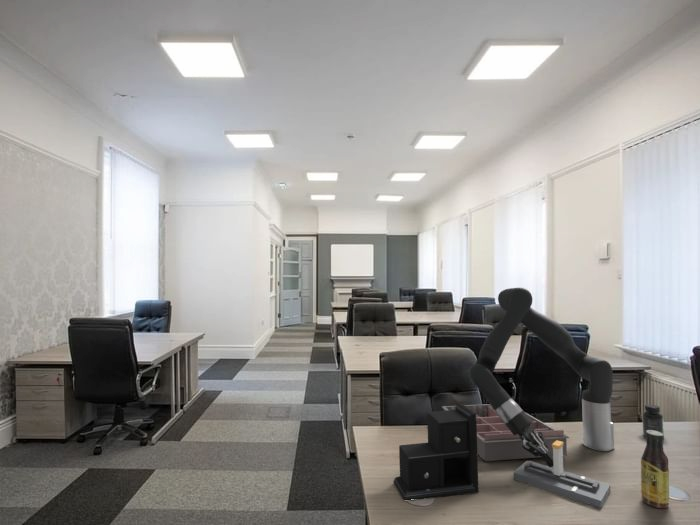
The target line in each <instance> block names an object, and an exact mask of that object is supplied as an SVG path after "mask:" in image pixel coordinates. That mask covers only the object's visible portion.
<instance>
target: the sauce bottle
mask: <svg viewBox="0 0 700 525" xmlns="http://www.w3.org/2000/svg"><path fill="white" fill-rule="evenodd" d="M645 438H646V440H645V441H646V446H645V449H644V451H643V453H642V456H641V460H640V474H641V475H640V479H641V480H640V491H641V492H640V493H641V499H642V501H643V502H644V503H645V504H647V505H649V506H651V507H653V508H656V509H657V508H658V509H666V508H668V507H669V504H670V503H669V502H670V470H669V469H670V468H669V459H668V456H667V455H666V454H665V451H664V439H665V434H664V435H663V434H662V433H661V432H658V431H654V430H647V431H646V436H645Z"/></svg>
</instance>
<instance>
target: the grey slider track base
mask: <svg viewBox="0 0 700 525" xmlns="http://www.w3.org/2000/svg"><path fill="white" fill-rule="evenodd" d="M553 470H554V467H549V466H548V465H545V464H542V463H540V462H534V461H531V460H526V461H524V462H523V463H522V464H521V465H520V466H518V467H517V469H515V470H514V471H513V480H516V481H518V482H521V483H523V484H528V485H531V486H534V487H537V488H538V489H539V488H540V489H543V490H545V491H549V492H552V493H554V494H557V495H560V496H563V497H566V498H569V499H573V500H575V501H578V502H581V503H585V504H588V505H590V506H593V507H596V508H599V509H602V508H603V506H604V504H605V502H606V500H607V499H608V498H609V496H610V493H611V492H612V491H611V484H610V483H606V482H602V481H598V480H596V479H593V478H589V477H586V476H583V475H578V474H575V473H572V472H569V471H565V470H563V473H564V474H566V478H563V477H560V476H557V475H554V474H552V471H553Z"/></svg>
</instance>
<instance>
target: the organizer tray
mask: <svg viewBox="0 0 700 525" xmlns="http://www.w3.org/2000/svg"><path fill="white" fill-rule="evenodd" d="M463 405H464V406H466V407H468V408H469V409H471V410H472V411H474V412H475V413H476V422H477V454H478V456H479V457H480V458H482V459H483V460H484V461H485V462H486V461H487V462H491V461H502V460H519V459H532V458H533V459H534V458H540V457H539V456H538V457H536V456H534V455H533V454H531V453H530V452H528V451H527V450H525V449H524V448H523V447H522V445H523V444H524V443H523V441H522V440H521V438H520V436H519V435H518V434H517V435H513V433H512V432H511V431H510V430H509V428H508V427H507V426H506V425H505V423H504V422H503V421H502V420H501V418H500V417H499V416H498V414H497V412H496V411H495V410H494V409H493V407H492V406H491V405H490V404H484V403H483V404H467V405H466V404H463ZM441 408H442V409H443V411H447V410H456V405H448V406H447V405H443V406H442V405H441ZM525 413H526V415H527V416H528V417H529V418H530V419H531V421H532V423H531V424H530V426H531V427H532V428H534V429H535V431H536V432H542V434H543V436H544V438H545V440H546V443H547V445H548V447H549V448H548V453H549V454H550V455H551V456H552V457H553V448H552V444H553V443H554V442H555V441H556V440H558V441H562V442H563V457H564V456H566V457H567V456H568V448H567V446H568V445H567V439H570V437H569V436H568V435H566V434H565V433H564V432H565V431H564V429H556V428H554V427H553V426H550V425H548V424H547V423H544V421H541V420H540V419H537V418H536V417H534V416H532V415H530V414H529V413H528V412H525ZM536 445H537V444H536ZM534 452H535V451H534Z"/></svg>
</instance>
